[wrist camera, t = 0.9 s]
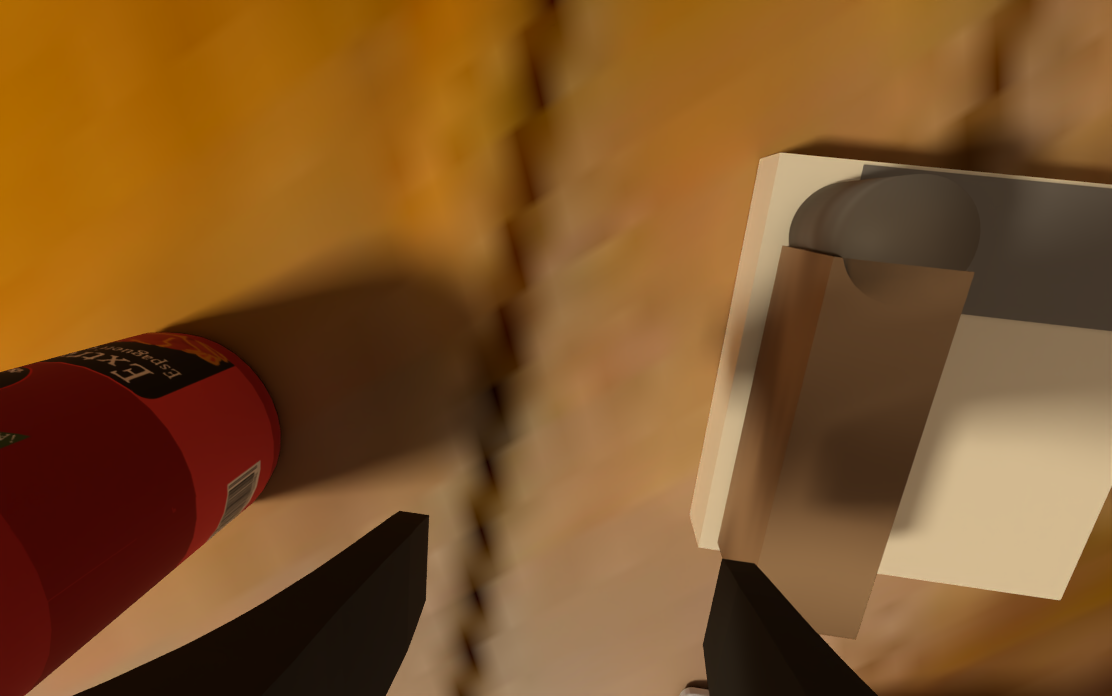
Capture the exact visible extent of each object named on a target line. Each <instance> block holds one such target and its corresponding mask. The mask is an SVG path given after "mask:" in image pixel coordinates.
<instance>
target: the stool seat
mask: <svg viewBox="0 0 1112 696" xmlns="http://www.w3.org/2000/svg"><path fill="white" fill-rule="evenodd" d="M913 174H932V175H938V176H941V177H945V178H947V179H949V180H952V181H954V182H955V183H957V184H958V185H960V186H961V187H962V188H963V189H964V190H965V191H966V192H967V193H968V194H969V195H970V197H971V198H972V199H973V201H974V203H975V205H976V207H977V210H978V213H979V218H980V230H981V232H980V240H979V244H978V248H977V251H976V253H975V256H974V258H973V260H972V262H971V264H970V265H969V267H968V268H967V270H966V271H970V272H975V273H974V276H973V279H972V282H971V285H970V288H969V291H968V295H967V298H966V301H965V304H964V307H963V310H962V313H961V316H960V319H959V322H958V325H957V329H956V332H955V335H954V338H953V341H952V344H951V347H950V350H949V353H948V356H947V359H946V362H945V366H944V369H943V372H942V375H941V378H940V381H939V384H938V387H937V390H936V393H935V396H934V399H933V403H932V406H931V409H930V412H929V415H928V418H927V421H926V424H925V427H924V430H923V433H922V437H921V440H920V443H919V446H918V449H917V452H916V455H915V458H914V461H913V464H912V467H911V470H910V474H909V477H908V480H907V483H906V486H905V489H904V492H903V495H902V498H901V501H900V504H899V508H898V511H897V514H896V517H895V520H894V523H893V526H892V529H891V532H890V535H889V538H888V541H887V545H886V548H885V551H884V554H883V557H882V560H881V563H880V566H879V569H878V572H877V574H884V575H891V576H898V577H904V578H911V579H918V580H925V581H932V582H939V583H945V584H952V585H959V586H966V587H973V588H980V589H986V590H993V591H1000V592H1007V593H1014V594H1021V595H1027V596H1034V597H1041V598H1048V599H1055V600H1061V598H1062V596H1063V593H1064V591H1065V589H1066V587H1067V584H1068V582H1069V580H1070V578H1071V575H1072V573H1073V571H1074V569H1075V567H1076V564H1077V562H1078V560H1079V558H1080V555H1081V553H1082V551H1083V549H1084V546H1085V544H1086V542H1087V540H1088V538H1089V535H1090V533H1091V531H1092V529H1093V526H1094V524H1095V522H1096V520H1097V517H1098V515H1099V513H1100V511H1101V508H1102V506H1103V504H1104V502H1105V500H1106V497H1107V495H1108V493H1109V491H1110V488H1111V486H1112V185H1110V184H1100V183H1089V182H1079V181H1069V180H1058V179H1048V178H1038V177H1027V176H1017V175H1007V174H996V173H986V172H976V171H965V170H955V169H945V168H934V167H924V166H914V165H903V164H893V163H883V162H872V161H862V160H852V159H841V158H831V157H821V156H810V155H800V154H790V153H777V154H774V155H771V156H768V157H765V158H761V159H760V161H759V166H758V171H757V176H756V182H755V187H754V192H753V197H752V202H751V207H750V212H749V217H748V222H747V227H746V232H745V237H744V242H743V247H742V252H741V257H740V262H739V267H738V273H737V278H736V283H735V288H734V293H733V298H732V303H731V308H730V313H729V318H728V323H727V328H726V333H725V338H724V343H723V348H722V353H721V358H720V363H719V369H718V374H717V379H716V384H715V389H714V394H713V399H712V404H711V409H710V414H709V419H708V424H707V429H706V434H705V439H704V444H703V449H702V454H701V459H700V465H699V470H698V475H697V480H696V485H695V490H694V495H693V500H692V505H691V510H690V518H691V521H692V525H693V529H694V533H695V536H696V540H697V544H698V547H700V548H707V549H713V550H720V549H719V546H718V543H717V542H718V537H719V533H720V528H721V524H722V519H723V515H724V510H725V505H726V501H727V496H728V492H729V487H730V483H731V478H732V473H733V469H734V464H735V460H736V455H737V451H738V446H739V441H740V437H741V432H742V428H743V423H744V418H745V414H746V409H747V405H748V400H749V396H750V391H751V386H752V382H753V377H754V373H755V368H756V364H757V359H758V354H759V350H760V345H761V341H762V336H763V332H764V327H765V322H766V318H767V313H768V309H769V304H770V300H771V295H772V290H773V286H774V281H775V277H776V272H777V268H778V263H779V258H780V254H781V249H782V246H789V230H790V226H791V222H792V220H793V217H794V215H795V213H796V212H797V210H798V208H799V207H800V206H801V204H802V203H803V202H804V201H805V200H806V199H807V198H808V197H809V196H810V195H812V194H813V193H814V192H816V191H817V190H819V189H821V188H823V187H825V186H827V185H830V184H833V183H838V182H846V181H855V180H865V179H874V178H884V177H894V176H903V175H913Z"/></svg>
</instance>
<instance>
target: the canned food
mask: <svg viewBox="0 0 1112 696" xmlns="http://www.w3.org/2000/svg"><path fill="white" fill-rule="evenodd" d="M280 442H281V431H280V426H279V420H278V415H277V412H276V410H275V407H274V404H273V401H272V399H271V397H270V395H269V393H268V392H267V390H266V388H265V386H264V385H263V383H262V381H261V380H260V379H259V378H258V376H257V375H256V374H255V373H254V372H253V370H252V369H251V368H250V367H249V366H248V365H247V364H246V363H245V362H244V361H242V360H241V359H240V358H239V357H238V356H237V355H236V354H234V353H233V352H231V351H230V350H228V349H226V348H225V347H223V346H222V345H220V344H218V343H215V342H213V341H211V340H208V339H206V338H203V337H199V336H194V335H189V334H182V333H145V334H141V335H137V336H133V337H129V338H126V339H122V340H118V341H115V342H111V343H107V344H103V345H100V346H96V347H92V348H88V349H85V350H81V351H77V352H74V353H70V354H66V355H62V356H59V357H55V358H51V359H48V360H44V361H40V362H36V363H33V364H29V365H25V366H22V367H18V368H14V369H10V370H7V371H3V372H0V696H24V695H25V694H27V693H28V692H29V691H31V690H32V689H33V688H34V687H35V686H36V685H38V684H39V683H40V682H41V681H42V680H44V679H45V678H46V677H47V676H48V675H49V674H51V673H52V672H53V671H54V670H55V669H57V668H58V667H59V666H60V665H61V664H62V663H64V662H65V661H66V660H67V659H68V658H70V657H71V656H72V655H73V654H74V653H75V652H77V651H78V650H79V649H80V648H81V647H83V646H84V645H85V644H86V643H87V642H89V641H90V640H91V639H92V638H93V637H94V636H96V635H97V634H98V633H99V632H100V631H102V630H103V629H104V628H105V627H106V626H107V625H109V624H110V623H111V622H112V621H113V620H115V619H116V618H117V617H118V616H119V615H120V614H122V613H123V612H124V611H125V610H126V609H128V608H129V607H130V606H131V605H132V604H133V603H135V602H136V601H137V600H138V599H139V598H141V597H142V596H143V595H144V594H145V593H146V592H148V591H149V590H150V589H151V588H152V587H154V586H155V585H156V584H157V583H158V582H159V581H161V580H162V579H163V578H164V577H165V576H167V575H168V574H169V573H170V572H171V571H172V570H174V569H175V568H176V567H177V566H178V565H180V564H181V563H182V562H183V561H184V560H186V559H187V558H188V557H189V556H190V555H191V554H193V553H194V552H195V551H196V550H197V549H199V548H200V547H201V546H202V545H203V544H204V543H206V542H207V541H208V540H209V539H210V538H212V537H213V536H214V535H215V534H216V533H217V532H219V531H220V530H221V529H222V528H223V527H225V526H226V525H227V524H228V523H229V522H230V521H232V520H233V519H234V518H235V517H236V516H238V515H239V514H240V513H241V512H242V511H243V510H245V509H246V508H247V507H248V506H249V505H251V504H252V503H253V502H254V501H255V499H256V498H257V497H258V496H259V495H260V493H261V492H262V491H263V489H264V488H265V486H266V484H267V482H268V481H269V479H270V477H271V475H272V473H273V471H274V469H275V467H276V465H277V461H278V457H279V453H280Z"/></svg>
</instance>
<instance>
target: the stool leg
mask: <svg viewBox="0 0 1112 696" xmlns="http://www.w3.org/2000/svg"><path fill="white" fill-rule="evenodd" d="M980 232H981V230H980V218H979V213H978V210H977V207H976V205H975V203H974V201H973V199H972V198H971V197H970V195H969V194H968V193H967V192H966V191H965V190H964V189H963V188H962V187H961V186H960V185H958V184H957V183H955V182H954V181H952V180H949V179H947V178H945V177H941V176H938V175H932V174H913V175H903V176H894V177H884V178H874V179H865V180H855V181H846V182H838V183H833V184H830V185H827V186H825V187H823V188H821V189H819V190H817V191H816V192H814V193H813V194H812V195H810V196H809V197H808V198H807V199H806V200H805V201H804V202H803V203H802V204H801V206H800V207H799V208H798V210H797V212H796V213H795V215H794V217H793V220H792V222H791V226H790V230H789V246H782V249H781V254H780V258H779V263H778V268H777V272H776V277H775V281H774V286H773V290H772V295H771V300H770V304H769V309H768V313H767V318H766V322H765V327H764V332H763V336H762V341H761V345H760V350H759V354H758V359H757V364H756V368H755V373H754V377H753V382H752V386H751V391H750V396H749V400H748V405H747V409H746V414H745V418H744V423H743V428H742V432H741V437H740V441H739V446H738V451H737V455H736V460H735V464H734V469H733V473H732V478H731V483H730V487H729V492H728V496H727V501H726V505H725V510H724V515H723V519H722V524H721V528H720V533H719V537H718V542H717V543H718V546H719V549H720V552H721V555H722V558H723V559H729V560H736V561H742V562H749V563H755V564H756V565H757V566H758V567H759V569H760V570H761V571H762V572H763V573H764V574H765V575H766V576H767V577H768V578H769V579H770V581H771V582H772V583H773V584H774V585H775V586H776V587H777V588H778V590H779V591H780V592H781V593H782V594H783V595H784V596H785V598H786V599H787V600H788V601H789V602H790V603H791V604H792V605H793V607H794V608H795V609H796V610H797V611H798V612H799V613H800V614H801V616H802V617H803V618H804V619H805V620H806V621H807V622H808V623H809V624H810V626H811V627H812V628H813V629H814V630H815V631H816V632H817V633H818V634H822V635H829V636H835V637H842V638H848V639H855V640H856V637H857V634H858V631H859V628H860V625H861V622H862V619H863V616H864V612H865V609H866V606H867V603H868V600H869V597H870V594H871V591H872V588H873V585H874V582H875V579H876V575H877V572H878V569H879V566H880V563H881V560H882V557H883V554H884V551H885V548H886V545H887V541H888V538H889V535H890V532H891V529H892V526H893V523H894V520H895V517H896V514H897V511H898V508H899V504H900V501H901V498H902V495H903V492H904V489H905V486H906V483H907V480H908V477H909V474H910V470H911V467H912V464H913V461H914V458H915V455H916V452H917V449H918V446H919V443H920V440H921V437H922V433H923V430H924V427H925V424H926V421H927V418H928V415H929V412H930V409H931V406H932V403H933V399H934V396H935V393H936V390H937V387H938V384H939V381H940V378H941V375H942V372H943V369H944V366H945V362H946V359H947V356H948V353H949V350H950V347H951V344H952V341H953V338H954V335H955V332H956V329H957V325H958V322H959V319H960V316H961V313H962V310H963V307H964V304H965V301H966V298H967V295H968V291H969V288H970V285H971V282H972V279H973V276H974V273H975V272H970V271H966V270H967V268H968V267H969V265H970V264H971V262H972V260H973V258H974V256H975V253H976V251H977V248H978V244H979V240H980Z"/></svg>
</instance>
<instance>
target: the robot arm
mask: <svg viewBox="0 0 1112 696" xmlns="http://www.w3.org/2000/svg"><path fill="white" fill-rule="evenodd" d="M428 528H429V515H424V514H417V513H410V512H403V511H399V512H397V513H396V514H394V515H393V516H391V517H390V518H388V519H387V520H386V521H384V522H383V523H381V524H380V525H379V526H377V527H376V528H374V529H373V530H372V531H370V532H369V533H367V534H366V535H365V536H363V537H362V538H360V539H359V540H358V541H356V542H355V543H353V544H352V545H351V546H349V547H348V548H346V549H345V550H344V551H342V552H341V553H339V554H338V555H336V556H335V557H333V558H332V559H330V560H329V561H328V562H326V563H325V564H323V565H322V566H320V567H319V568H317V569H316V570H314V571H313V572H311V573H310V574H308V575H306V576H305V577H303V578H302V579H300V580H299V581H297V582H295V583H294V584H292V585H291V586H289V587H287V588H286V589H284V590H283V591H281V592H279V593H278V594H276V595H275V596H273V597H272V598H270V599H268V600H267V601H265V602H264V603H262V604H260V605H258V606H257V607H255V608H253V609H252V610H250V611H248V612H246V613H245V614H243V615H241V616H239V617H237V618H236V619H234V620H232V621H230V622H228V623H226V624H225V625H223V626H221V627H219V628H217V629H215V630H213V631H211V632H209V633H208V634H206V635H204V636H202V637H200V638H198V639H196V640H194V641H192V642H190V643H188V644H186V645H184V646H182V647H180V648H178V649H176V650H174V651H171V652H169V653H167V654H165V655H163V656H161V657H158V658H156V659H154V660H152V661H150V662H148V663H146V664H143V665H141V666H139V667H137V668H135V669H133V670H130V671H128V672H126V673H124V674H122V675H120V676H117V677H115V678H113V679H111V680H109V681H106V682H104V683H102V684H99V685H97V686H95V687H92V688H90V689H87V690H85V691H83V692H80V693H78V694H75V695H73V696H386V694H387V692H388V690H389V688H390V686H391V684H392V682H393V680H394V678H395V676H396V674H397V672H398V670H399V668H400V665H401V663H402V661H403V659H404V657H405V655H406V653H407V651H408V648H409V645H410V643H411V640H412V637H413V635H414V632H415V629H416V626H417V624H418V621H419V618H420V615H421V612H422V609H423V607H424V604H425V601H426V579H427V553H428ZM703 649H704V657H705V666H706V674H707V682H708V689H709V690H707V689H701V688H695V687H688V688H685V689H684V690H683V691H681V693H680V696H878V695H877V694H876V693H875V692H874V691H873V690H872V689H871V688H870V687H869V686H868V685H867V684H866V683H865V682H864V681H863V680H862V679H861V678H859V676H858V675H857V674H856V673H855V672H854V671H853V670H852V669H851V668H850V667H849V666H848V665H847V664H846V663H845V662H844V661H843V660H842V659H841V658H840V657H839V656H838V655H837V654H836V653H835V652H834V650H833V649H832V648H831V647H830V646H829V645H828V644H827V643H826V642H825V641H824V640H823V639H822V638H821V636H820V635H819V634H818V633H817V632H816V631H815V630H814V629H813V628H812V627H811V626H810V624H809V623H808V622H807V621H806V620H805V619H804V618H803V617H802V616H801V614H800V613H799V612H798V611H797V610H796V609H795V608H794V607H793V605H792V604H791V603H790V602H789V601H788V600H787V599H786V598H785V596H784V595H783V594H782V593H781V592H780V591H779V590H778V588H777V587H776V586H775V585H774V584H773V583H772V582H771V581H770V579H769V578H768V577H767V576H766V575H765V574H764V573H763V572H762V571H761V570H760V569H759V567H758V566H757V565H756V564H755V563H749V562H742V561H736V560H729V559H722V562H721V566H720V570H719V575H718V579H717V584H716V588H715V593H714V597H713V602H712V606H711V611H710V615H709V620H708V624H707V629H706V633H705V638H704V642H703Z"/></svg>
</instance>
